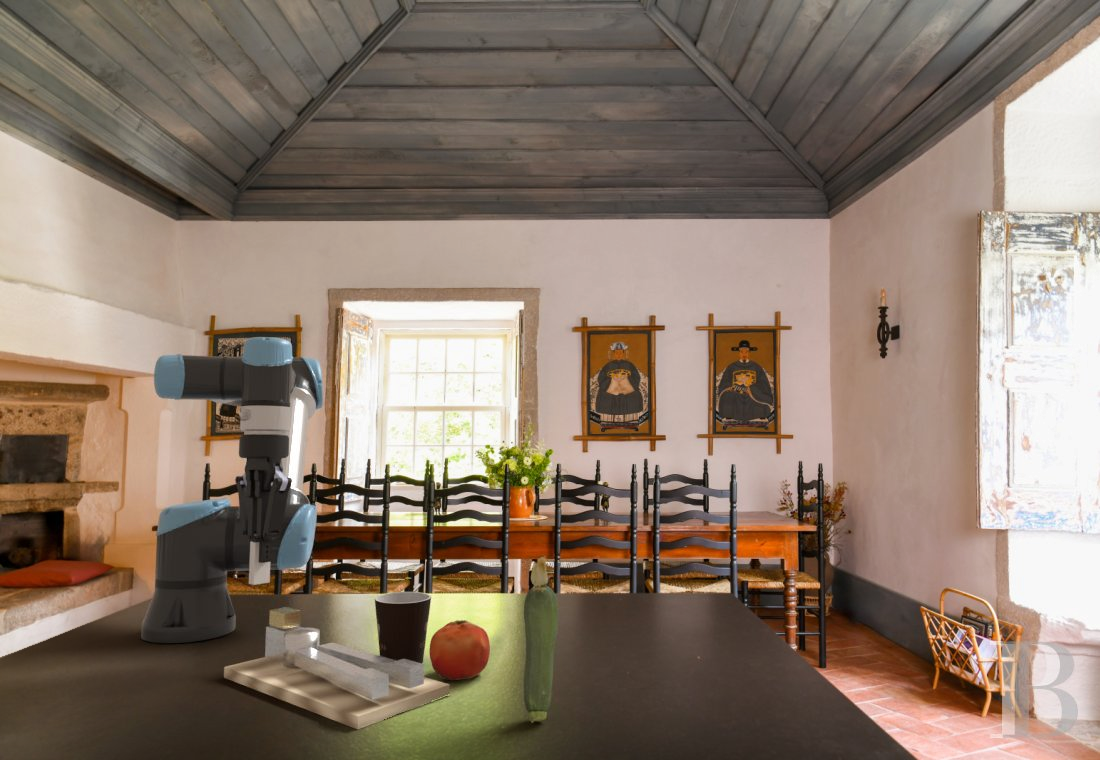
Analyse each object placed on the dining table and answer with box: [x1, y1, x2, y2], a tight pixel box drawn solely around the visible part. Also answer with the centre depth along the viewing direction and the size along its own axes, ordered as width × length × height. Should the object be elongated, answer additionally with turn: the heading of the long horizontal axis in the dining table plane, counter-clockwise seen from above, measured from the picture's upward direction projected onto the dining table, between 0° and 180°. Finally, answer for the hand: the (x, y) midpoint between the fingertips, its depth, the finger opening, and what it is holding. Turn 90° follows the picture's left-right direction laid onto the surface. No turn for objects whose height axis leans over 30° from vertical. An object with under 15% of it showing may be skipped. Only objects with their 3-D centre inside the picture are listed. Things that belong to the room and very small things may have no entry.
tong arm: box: [295, 648, 389, 700], centre depth 99 cm, size 20×2×2 cm, turn 46°
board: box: [223, 656, 451, 730], centre depth 103 cm, size 31×15×2 cm, turn 52°
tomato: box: [429, 619, 491, 681], centre depth 108 cm, size 9×9×8 cm
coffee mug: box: [374, 591, 432, 664], centre depth 116 cm, size 12×9×10 cm
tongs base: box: [264, 625, 425, 689], centre depth 104 cm, size 30×5×4 cm, turn 52°
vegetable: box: [523, 555, 559, 724], centre depth 92 cm, size 4×4×20 cm
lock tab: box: [268, 606, 302, 629], centre depth 112 cm, size 4×3×2 cm
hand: (259, 582), depth 117 cm, fingers closed
